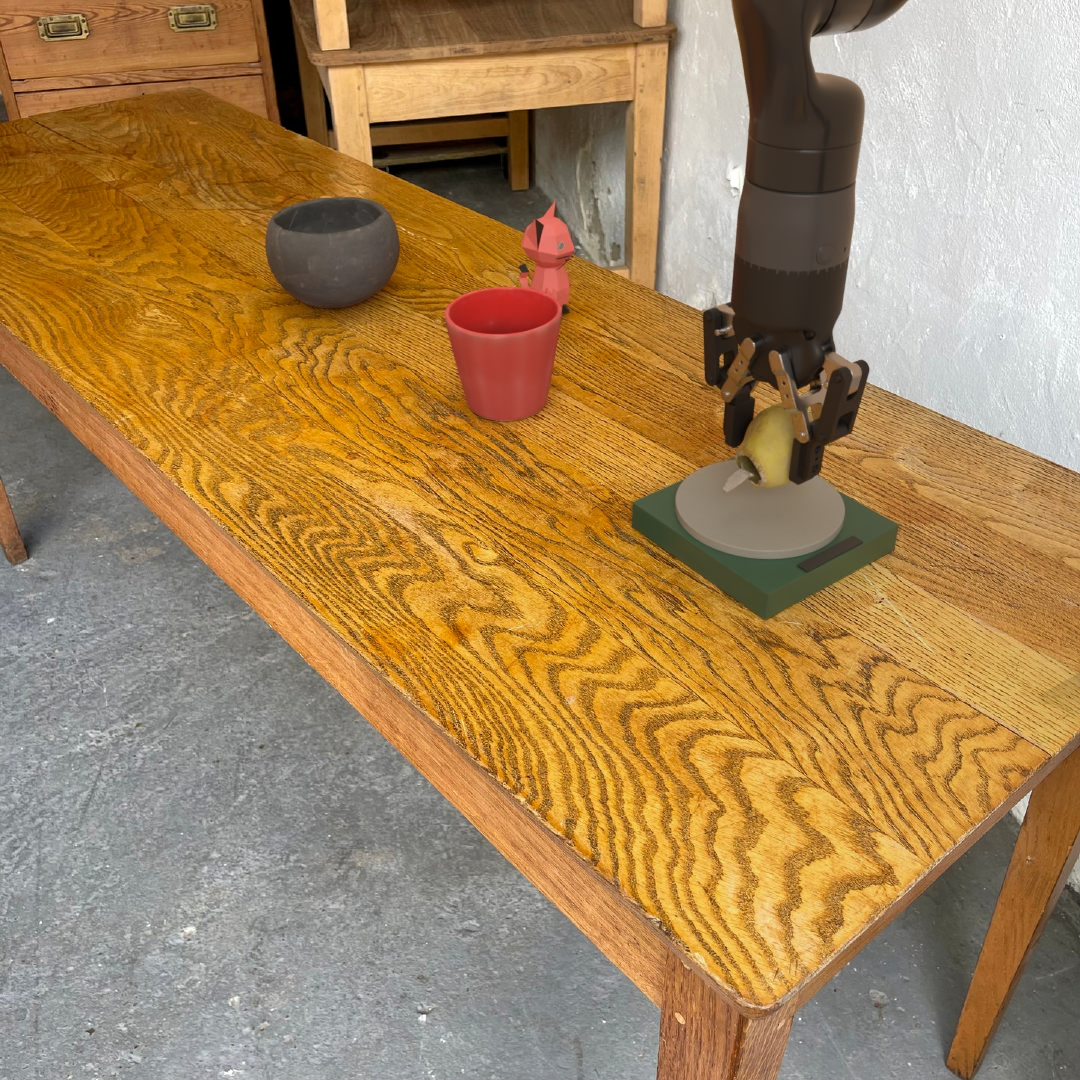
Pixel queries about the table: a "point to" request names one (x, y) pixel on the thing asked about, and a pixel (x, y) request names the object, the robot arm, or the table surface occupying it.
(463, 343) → the flower pot
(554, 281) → the cat figurine
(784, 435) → the fruit
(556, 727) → the table surface
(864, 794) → the table surface
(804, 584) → the scale
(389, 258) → the bowl
